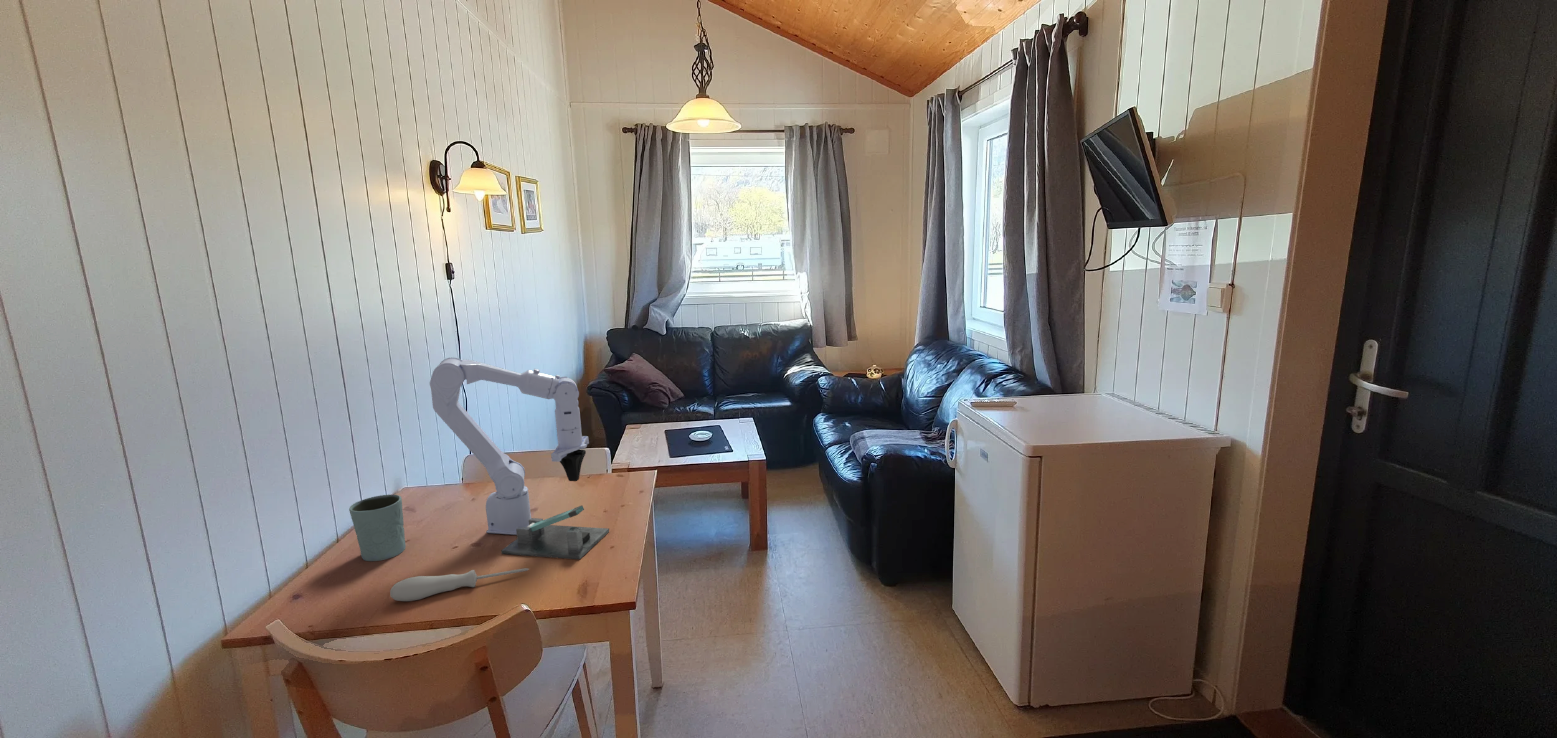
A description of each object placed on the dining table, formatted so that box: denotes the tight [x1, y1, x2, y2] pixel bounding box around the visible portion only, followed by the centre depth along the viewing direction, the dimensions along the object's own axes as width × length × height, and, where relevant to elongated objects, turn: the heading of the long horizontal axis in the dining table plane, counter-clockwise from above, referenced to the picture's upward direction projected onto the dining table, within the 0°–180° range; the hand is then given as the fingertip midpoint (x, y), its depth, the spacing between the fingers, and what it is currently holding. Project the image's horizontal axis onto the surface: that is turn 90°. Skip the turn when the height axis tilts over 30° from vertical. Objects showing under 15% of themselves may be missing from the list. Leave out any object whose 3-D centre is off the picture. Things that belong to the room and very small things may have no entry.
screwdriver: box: [389, 567, 530, 602], centre depth 128 cm, size 5×25×4 cm, turn 114°
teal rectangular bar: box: [527, 505, 585, 532], centre depth 146 cm, size 15×3×2 cm, turn 78°
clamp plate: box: [500, 517, 610, 560], centre depth 147 cm, size 19×14×6 cm
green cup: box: [348, 494, 407, 562], centre depth 144 cm, size 10×10×12 cm
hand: (573, 480), depth 159 cm, fingers closed
